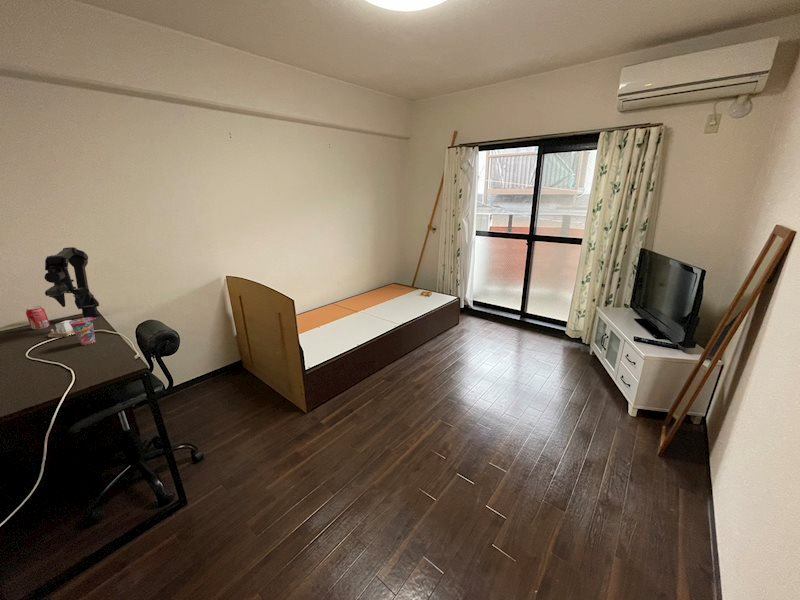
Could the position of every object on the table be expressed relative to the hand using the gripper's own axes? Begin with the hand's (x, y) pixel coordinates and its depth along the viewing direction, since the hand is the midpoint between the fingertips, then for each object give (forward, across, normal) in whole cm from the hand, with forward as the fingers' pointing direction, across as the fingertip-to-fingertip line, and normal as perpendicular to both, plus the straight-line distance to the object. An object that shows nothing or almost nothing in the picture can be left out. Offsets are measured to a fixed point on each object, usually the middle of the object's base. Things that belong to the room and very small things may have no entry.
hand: (72, 306), depth 177 cm
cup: (+12, +26, -23) cm, 37 cm away
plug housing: (+12, +2, -8) cm, 15 cm away
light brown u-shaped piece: (+12, +2, -9) cm, 15 cm away
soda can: (+12, -21, 0) cm, 24 cm away
